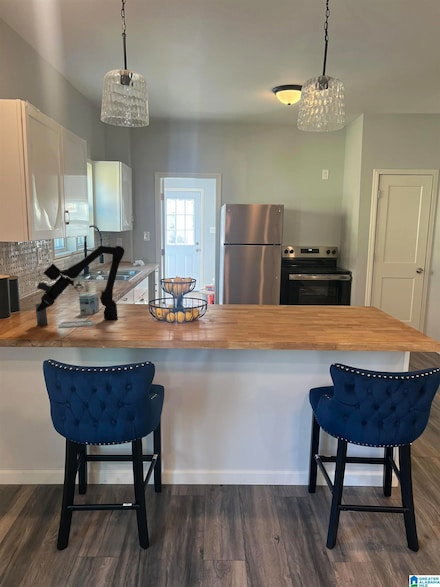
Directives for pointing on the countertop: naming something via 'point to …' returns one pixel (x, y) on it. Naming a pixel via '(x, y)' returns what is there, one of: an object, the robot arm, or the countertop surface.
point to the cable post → (41, 316)
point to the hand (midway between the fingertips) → (38, 309)
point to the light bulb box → (89, 303)
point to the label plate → (76, 324)
